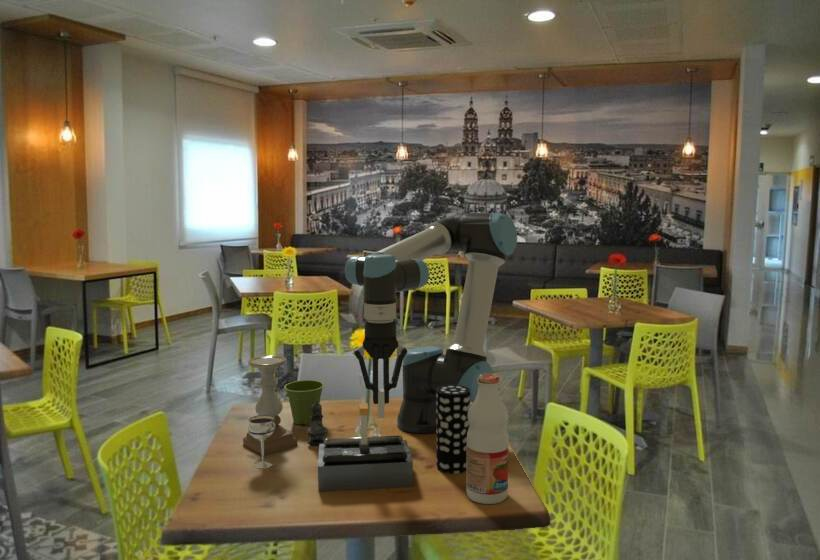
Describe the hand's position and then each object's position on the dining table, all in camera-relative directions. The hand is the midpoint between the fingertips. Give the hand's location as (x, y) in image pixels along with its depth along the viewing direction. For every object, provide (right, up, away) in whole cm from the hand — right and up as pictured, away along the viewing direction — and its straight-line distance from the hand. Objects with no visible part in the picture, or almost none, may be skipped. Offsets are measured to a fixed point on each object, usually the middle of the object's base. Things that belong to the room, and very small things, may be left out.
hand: (381, 416), depth 161 cm
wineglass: (-30, -14, +9) cm, 35 cm away
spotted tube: (+18, -14, +7) cm, 24 cm away
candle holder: (-31, -13, +22) cm, 40 cm away
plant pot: (-25, -10, +40) cm, 49 cm away
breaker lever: (-4, -9, +1) cm, 10 cm away
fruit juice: (+24, -16, -9) cm, 31 cm away
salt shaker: (-19, -12, +24) cm, 33 cm away
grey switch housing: (-4, -15, +2) cm, 16 cm away
